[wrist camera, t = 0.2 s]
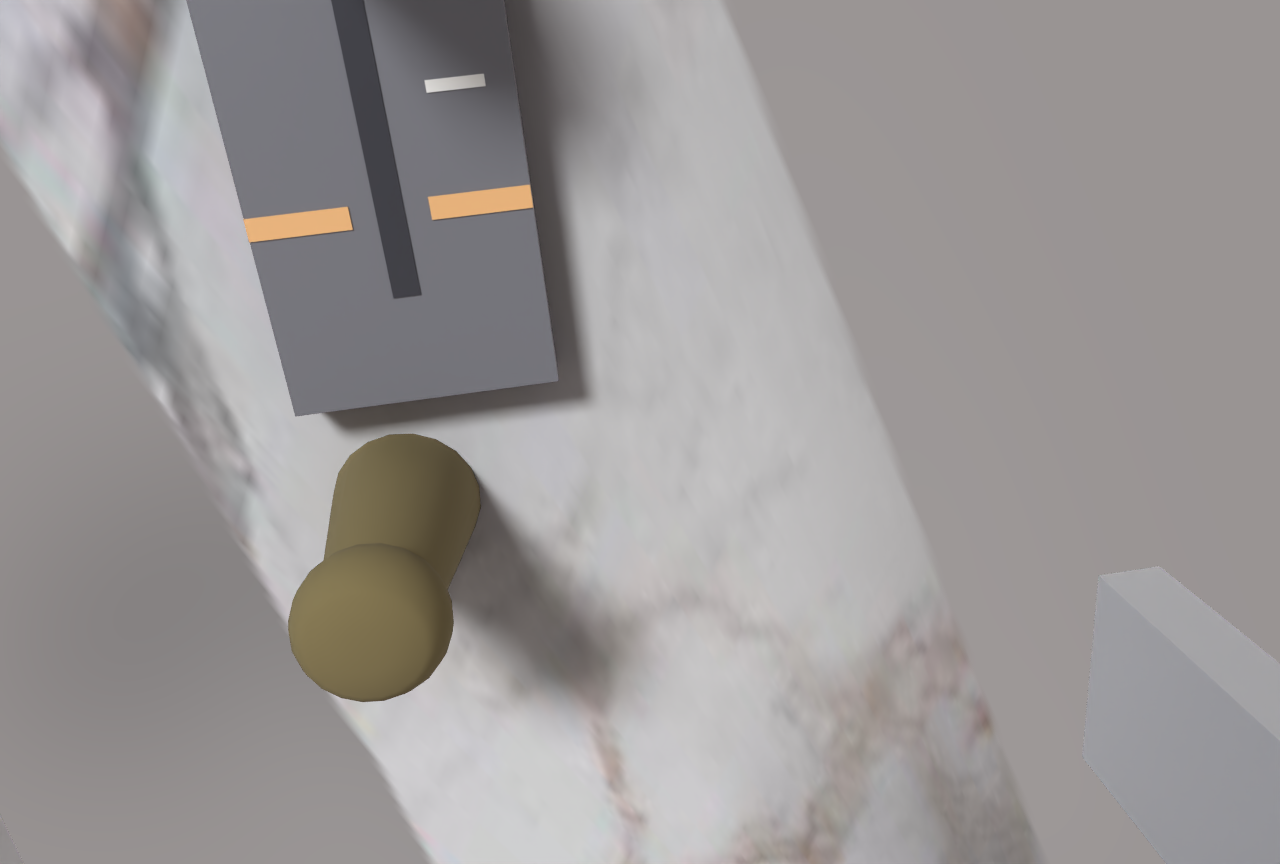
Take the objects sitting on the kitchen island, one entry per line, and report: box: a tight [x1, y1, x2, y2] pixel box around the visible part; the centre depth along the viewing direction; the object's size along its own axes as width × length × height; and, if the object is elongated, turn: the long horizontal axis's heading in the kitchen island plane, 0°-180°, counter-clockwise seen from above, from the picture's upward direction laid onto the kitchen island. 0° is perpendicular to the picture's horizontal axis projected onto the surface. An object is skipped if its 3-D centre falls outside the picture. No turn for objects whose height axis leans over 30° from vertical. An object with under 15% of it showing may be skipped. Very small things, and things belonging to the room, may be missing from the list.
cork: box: [288, 434, 481, 702], centre depth 34 cm, size 6×6×11 cm
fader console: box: [187, 0, 559, 416], centre depth 32 cm, size 22×10×2 cm, turn 6°
